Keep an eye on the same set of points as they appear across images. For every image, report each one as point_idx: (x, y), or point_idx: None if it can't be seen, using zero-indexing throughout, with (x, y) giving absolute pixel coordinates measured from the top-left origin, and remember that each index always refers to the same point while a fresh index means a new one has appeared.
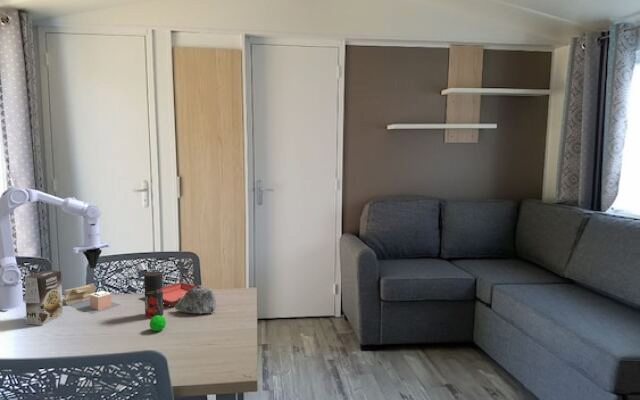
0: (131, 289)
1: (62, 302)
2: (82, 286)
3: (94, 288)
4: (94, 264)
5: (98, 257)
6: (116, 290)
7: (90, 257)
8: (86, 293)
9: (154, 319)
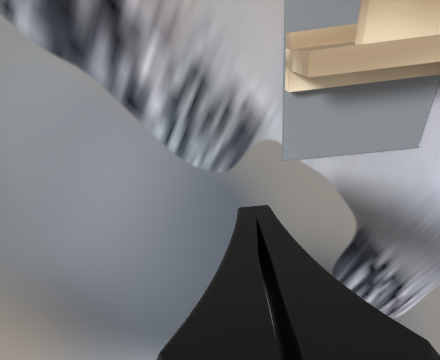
0: (70, 37)
1: (430, 87)
2: (404, 49)
3: (299, 50)
4: (259, 222)
5: (216, 277)
6: (146, 89)
7: (345, 294)
8: (351, 42)
9: None
